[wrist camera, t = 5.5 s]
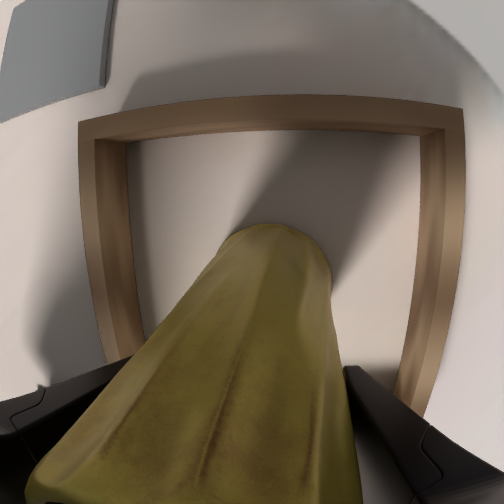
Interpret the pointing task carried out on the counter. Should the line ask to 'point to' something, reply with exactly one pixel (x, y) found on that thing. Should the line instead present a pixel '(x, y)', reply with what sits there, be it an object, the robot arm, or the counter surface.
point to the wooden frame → (280, 118)
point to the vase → (223, 395)
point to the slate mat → (53, 53)
